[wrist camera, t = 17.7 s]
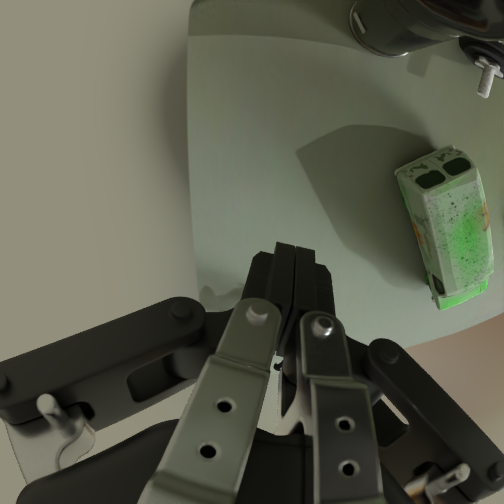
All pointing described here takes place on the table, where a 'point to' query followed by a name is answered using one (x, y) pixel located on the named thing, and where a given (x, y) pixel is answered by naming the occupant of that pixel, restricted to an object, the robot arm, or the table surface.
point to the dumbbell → (485, 60)
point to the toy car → (449, 223)
